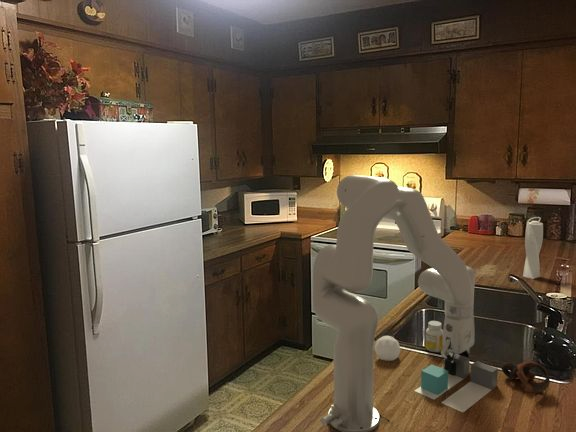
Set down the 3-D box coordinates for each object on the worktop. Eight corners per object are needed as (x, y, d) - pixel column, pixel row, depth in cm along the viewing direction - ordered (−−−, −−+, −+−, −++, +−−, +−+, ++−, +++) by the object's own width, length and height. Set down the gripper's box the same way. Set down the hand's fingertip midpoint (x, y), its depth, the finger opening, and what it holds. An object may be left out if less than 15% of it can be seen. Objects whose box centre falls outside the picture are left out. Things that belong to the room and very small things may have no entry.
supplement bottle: (429, 356, 150) (429, 327, 148) (422, 348, 155) (423, 320, 153) (445, 354, 150) (446, 326, 149) (438, 347, 156) (439, 319, 154)
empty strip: (462, 416, 118) (463, 393, 117) (440, 406, 122) (441, 384, 121) (496, 389, 130) (497, 368, 129) (475, 380, 134) (476, 360, 133)
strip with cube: (433, 403, 124) (434, 381, 123) (414, 394, 128) (414, 373, 127) (468, 378, 136) (469, 358, 135) (449, 370, 140) (450, 351, 139)
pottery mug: (544, 381, 134) (554, 365, 129) (540, 410, 128) (550, 394, 123) (499, 363, 139) (507, 347, 133) (493, 390, 132) (501, 374, 127)
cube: (437, 395, 126) (438, 377, 125) (421, 387, 129) (421, 370, 129) (447, 388, 129) (448, 370, 128) (431, 381, 133) (431, 364, 132)
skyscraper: (528, 273, 231) (531, 215, 226) (543, 276, 224) (548, 217, 220) (519, 276, 226) (522, 217, 221) (535, 280, 220) (539, 220, 215)
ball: (383, 365, 151) (383, 339, 154) (405, 363, 145) (405, 337, 149) (369, 360, 146) (369, 334, 150) (391, 358, 141) (391, 331, 144)
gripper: (455, 322, 125) (452, 385, 128) (486, 305, 136) (483, 364, 139) (429, 314, 131) (428, 375, 134) (462, 298, 142) (459, 355, 145)
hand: (456, 369), depth 136 cm, fingers open, 6 cm apart
